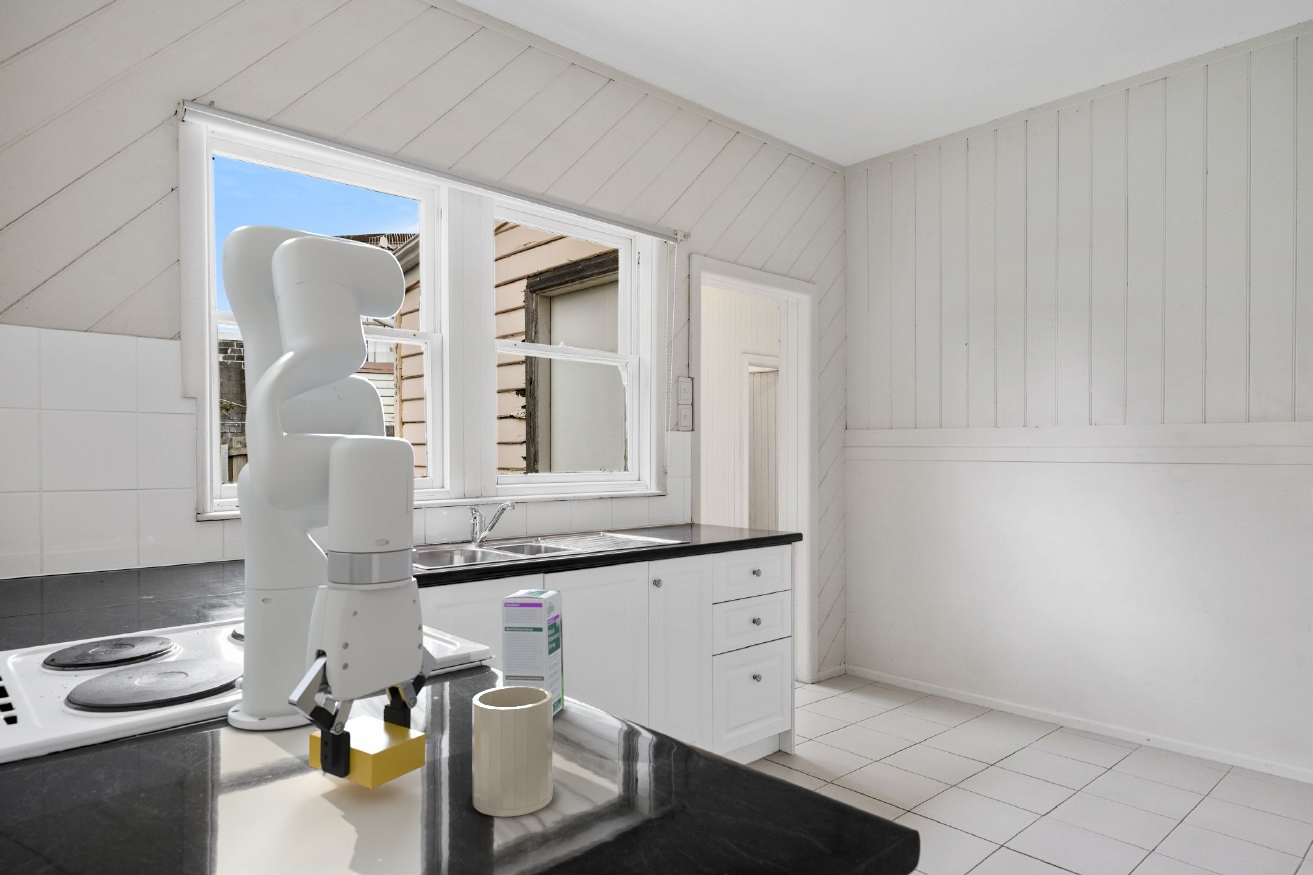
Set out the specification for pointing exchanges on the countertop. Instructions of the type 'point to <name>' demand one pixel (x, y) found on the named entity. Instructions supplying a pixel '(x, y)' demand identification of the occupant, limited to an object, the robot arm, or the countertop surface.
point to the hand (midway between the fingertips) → (367, 758)
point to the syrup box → (534, 641)
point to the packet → (376, 751)
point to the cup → (512, 750)
